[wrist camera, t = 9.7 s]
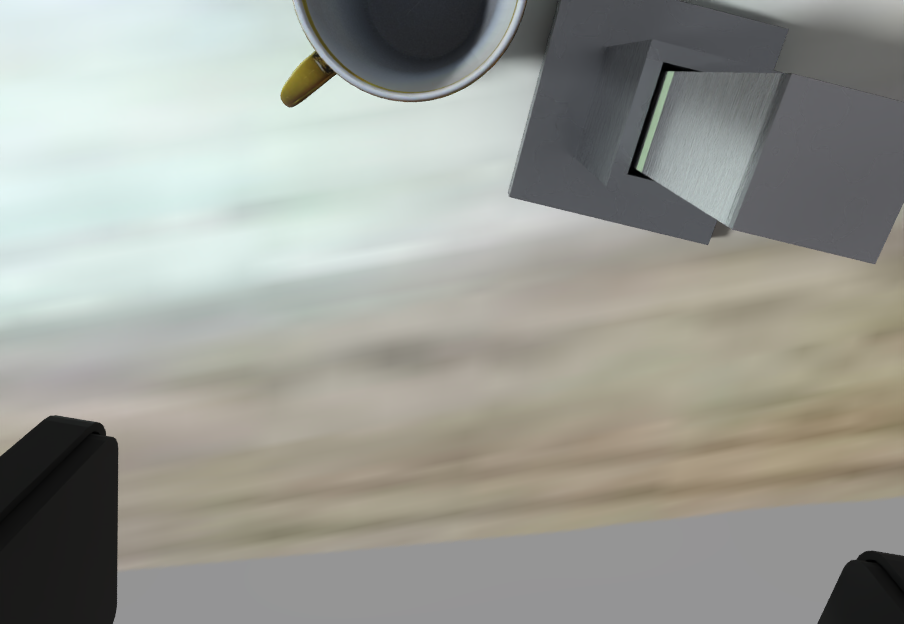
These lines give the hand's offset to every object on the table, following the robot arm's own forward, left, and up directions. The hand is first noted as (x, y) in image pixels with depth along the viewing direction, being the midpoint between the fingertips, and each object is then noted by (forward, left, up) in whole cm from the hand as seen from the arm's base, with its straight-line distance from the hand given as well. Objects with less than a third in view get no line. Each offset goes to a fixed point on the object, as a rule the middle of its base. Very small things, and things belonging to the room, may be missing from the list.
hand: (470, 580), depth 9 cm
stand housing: (-6, +8, -34) cm, 35 cm away
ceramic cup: (-8, -6, -34) cm, 35 cm away
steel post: (-6, +8, -27) cm, 29 cm away
